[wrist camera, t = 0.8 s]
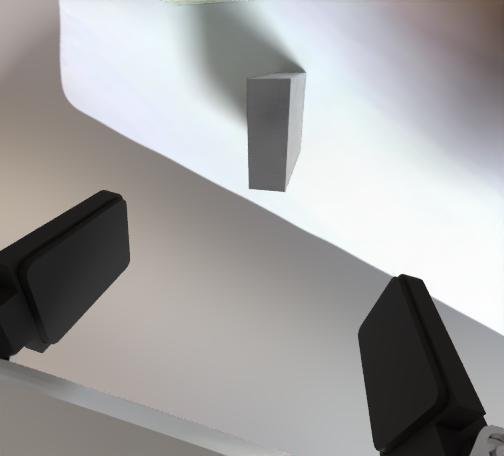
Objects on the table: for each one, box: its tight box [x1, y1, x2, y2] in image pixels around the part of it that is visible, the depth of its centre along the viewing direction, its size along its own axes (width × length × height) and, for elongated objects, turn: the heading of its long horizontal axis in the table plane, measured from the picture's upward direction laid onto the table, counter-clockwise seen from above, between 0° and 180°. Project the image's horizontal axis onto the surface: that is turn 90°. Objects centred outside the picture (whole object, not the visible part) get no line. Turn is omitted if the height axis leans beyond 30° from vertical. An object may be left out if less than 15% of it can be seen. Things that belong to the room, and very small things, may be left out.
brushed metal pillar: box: [247, 72, 306, 192], centre depth 25 cm, size 3×8×12 cm, turn 1°
